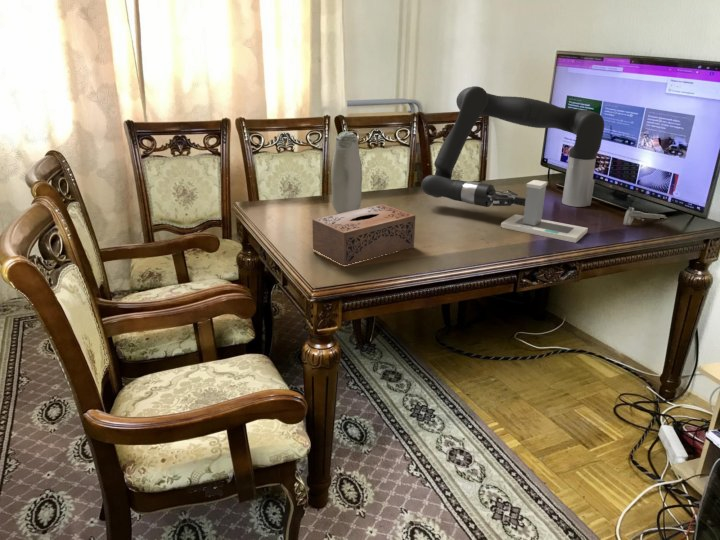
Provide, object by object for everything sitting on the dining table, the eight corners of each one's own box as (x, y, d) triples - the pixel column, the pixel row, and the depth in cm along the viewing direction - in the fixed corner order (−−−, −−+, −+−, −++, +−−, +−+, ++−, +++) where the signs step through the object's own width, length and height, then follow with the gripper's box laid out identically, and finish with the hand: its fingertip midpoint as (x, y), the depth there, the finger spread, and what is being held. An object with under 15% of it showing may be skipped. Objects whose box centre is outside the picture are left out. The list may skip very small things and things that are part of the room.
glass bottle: (329, 211, 203) (328, 129, 192) (357, 209, 205) (358, 128, 195) (334, 219, 194) (334, 134, 183) (364, 218, 196) (365, 133, 186)
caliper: (625, 226, 192) (629, 208, 190) (622, 225, 193) (626, 207, 191) (667, 218, 201) (670, 201, 198) (664, 218, 202) (668, 200, 199)
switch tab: (521, 223, 187) (526, 183, 182) (528, 218, 192) (533, 179, 187) (535, 226, 185) (540, 185, 180) (542, 221, 190) (547, 181, 185)
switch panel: (500, 227, 189) (501, 222, 188) (514, 218, 198) (515, 213, 198) (575, 242, 176) (576, 237, 176) (587, 232, 185) (587, 227, 185)
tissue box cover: (381, 235, 182) (382, 204, 178) (413, 248, 171) (415, 215, 167) (313, 253, 166) (312, 219, 163) (343, 268, 156) (343, 233, 152)
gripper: (470, 186, 190) (521, 195, 181) (487, 179, 200) (536, 186, 191) (468, 209, 193) (518, 218, 184) (484, 200, 203) (533, 209, 194)
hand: (527, 202), depth 188 cm, fingers closed
